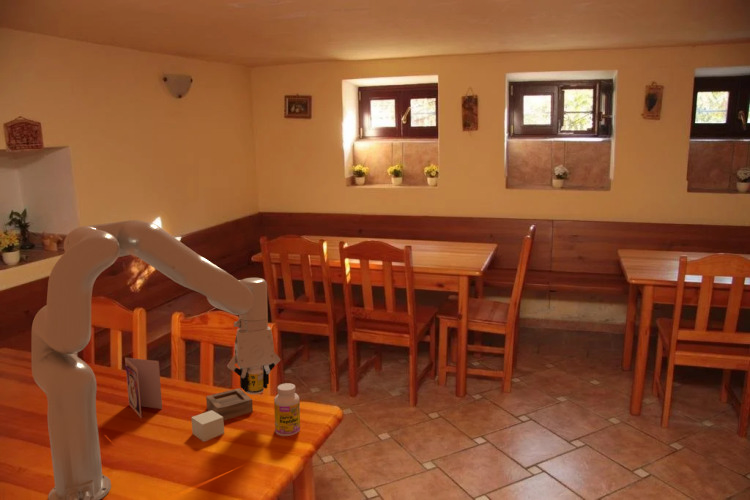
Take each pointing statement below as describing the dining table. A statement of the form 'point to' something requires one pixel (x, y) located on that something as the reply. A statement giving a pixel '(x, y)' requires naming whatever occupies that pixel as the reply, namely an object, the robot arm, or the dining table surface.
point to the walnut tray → (230, 403)
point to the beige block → (207, 425)
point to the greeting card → (143, 384)
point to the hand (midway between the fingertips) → (254, 387)
